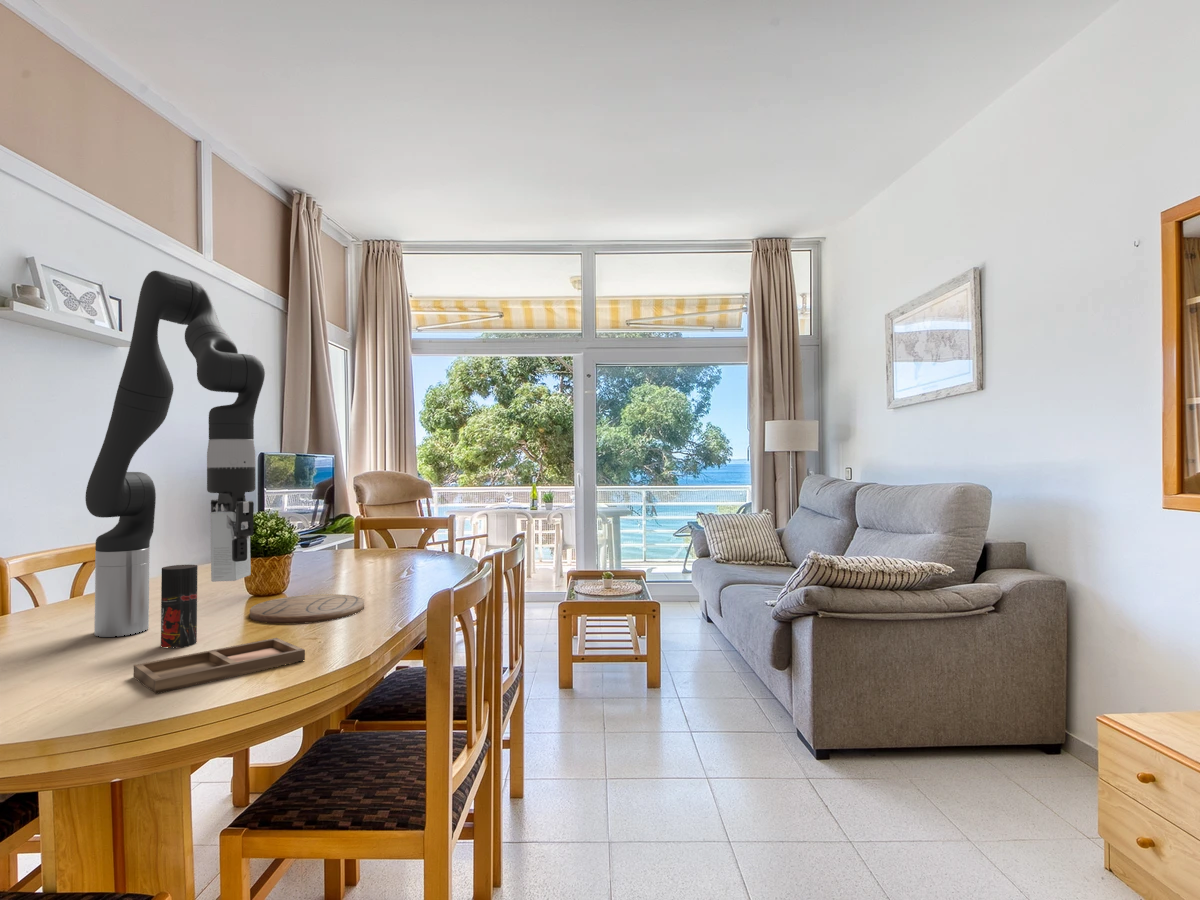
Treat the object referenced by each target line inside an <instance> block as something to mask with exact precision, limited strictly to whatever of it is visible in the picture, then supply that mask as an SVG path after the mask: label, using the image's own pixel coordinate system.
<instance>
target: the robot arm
mask: <svg viewBox="0 0 1200 900" xmlns="http://www.w3.org/2000/svg"><path fill="white" fill-rule="evenodd" d="M135 313H136V314H135V318H134V325H133V331H132V336H131V339H130V345H129V349H128V353H127V356H126V360H125V363H124V366H123V369H122V370H123V371H122V373H121V376H120V380H119V383H118V388H117V390H116V393H115V397H114V398H115V399H114V403H113V408H112V411H111V416H110V419H109V422H108V427H107V429H106V433H105V437H104V440H103V443H102V446H101V447H100V451H99V453H98V456H97V459H96V460H95V463H94V466H93V468H92V470H91V473H90V476H89V479H88V482H87V484H86V489H85V497H84V498H85V505H86V508H87V511H88V512H89V514H90V515H92V516H94V517H96V518H116V517H117V518H118V517H119V519H118V523H116V525H114V526H113V528H111V529H110V530H108V531H106V532H104V533H102V534H100V535H99V536H97V538H96V539H95V545H94V546H95V549H94V550H95V551H94V553H95V555H94V556H95V558H94V560H95V561H94V563H95V564H94V566H95V567H94V568H95V569H94V573H95V575H94V576H95V577H94V633H93V634H94V636H95V637H98V636H99V637H98V638H115V636H117V637H124V635H125V636H130V634H131V635H136V634H139V632H140V633H142V631H143V632H146V631H148V630H149V629H148V628H149V625H150V624H149V622H150V620H149V619H150V618H149V617H150V614H149V613H150V611H149V610H150V552H151V551H150V549H151V547H150V543H151V538H152V536H153V534H154V529H155V514H156V498H157V494H156V487H155V483H154V481H153V479H152V478H151V476H150V475H148V474H147V473H145V472H141V471H140V472H139V471H128V468H129V466H130V463H131V461H132V459H133V457H134V456H135V454H136V453H137V451H138V450H139V449H140V448H141V447H142V445H144V443H146V441H147V440H149V438H151V436H153V434H154V433H155V432H156V431H157V430H158V429H159V428H160V427H161V425H162V424H163V423H164V422H165V420H166V417H167V415H168V412H169V409H170V405H171V403H172V402H171V401H172V397H173V396H174V395H173V394H174V383H173V379H172V375H171V373H170V371H169V368H168V366H167V364H166V362H165V359H164V357H163V354H162V352H161V348H160V345H159V338H158V337H159V335H158V334H159V333H158V332H159V325H160V324H159V323H160V320H162V321H167V322H170V323H174V324H178V325H185V326H186V328H185V331H184V341H185V344H186V347H187V349H188V350H189V352H190V354H191V355H192V356H193V357H194V358H195V361H196V362H195V363H196V378H197V381H198V384H199V385H201V387H202V388H204V389H206V390H208V391H211V392H217V393H218V392H219V393H233V394H237V397H236V399H235V401H234V402H233V403H231V404H225V405H217V406H213V407H212V408H211V409H210V410H209V412H208V443H207V450H206V492H208V493H210V494H218V497H217V499H211V500H210V513H211V512H217V511H222V512H235V514H236V521H235V522H234V521H232V520H231V519H230V518H229V517H228V515H227V528H228V529H231V536H232V539H233V540H232V560H233V561H235V562H239V561H245V560H247V539H248V538H249V536H250V537H251V536H253V535H254V508H255V507H254V505H255V503H254V501H253V500H247V499H246V493H252V492H254V491H256V449H255V440H254V439H255V438H254V436H255V435H254V432H255V431H254V430H255V429H254V427H255V426H254V422H255V421H254V420H255V419H254V418H255V413H256V409H257V404H258V401H259V397H260V394H261V392H262V388H263V385H264V381H265V374H266V373H265V372H266V371H265V368H264V365H263V363H262V361H261V359H259V357H257V356H255V355H254V354H253V355H252V354H248V353H247V354H246V353H239V351H238V348H237V345H236V344H235V342H234V341H233V340H232V338H231V337H230V335H229V334H228V333H227V332H226V330H225V329H224V328H223V326H222V325H221V323H220V322H219V321H220V320H219V319H218V315H217V312H216V309H215V306H214V305H213V302H212V300H211V296H210V295H209V292H208V291H207V289H205V287H204V286H203V285H202V284H200V283H198V282H196V281H193V280H191V279H188V278H185V277H181V276H177V275H174V274H170V273H167V272H164V271H160V270H152V271H150V272H149V273H147V275H146V277H145V278H144V279H143V282H142V285H141V288H140V291H139V297H138V302H137V306H136V312H135ZM241 528H242V529H241ZM147 629H148V630H147ZM145 630H146V631H145ZM135 633H136V634H135Z"/></svg>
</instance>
